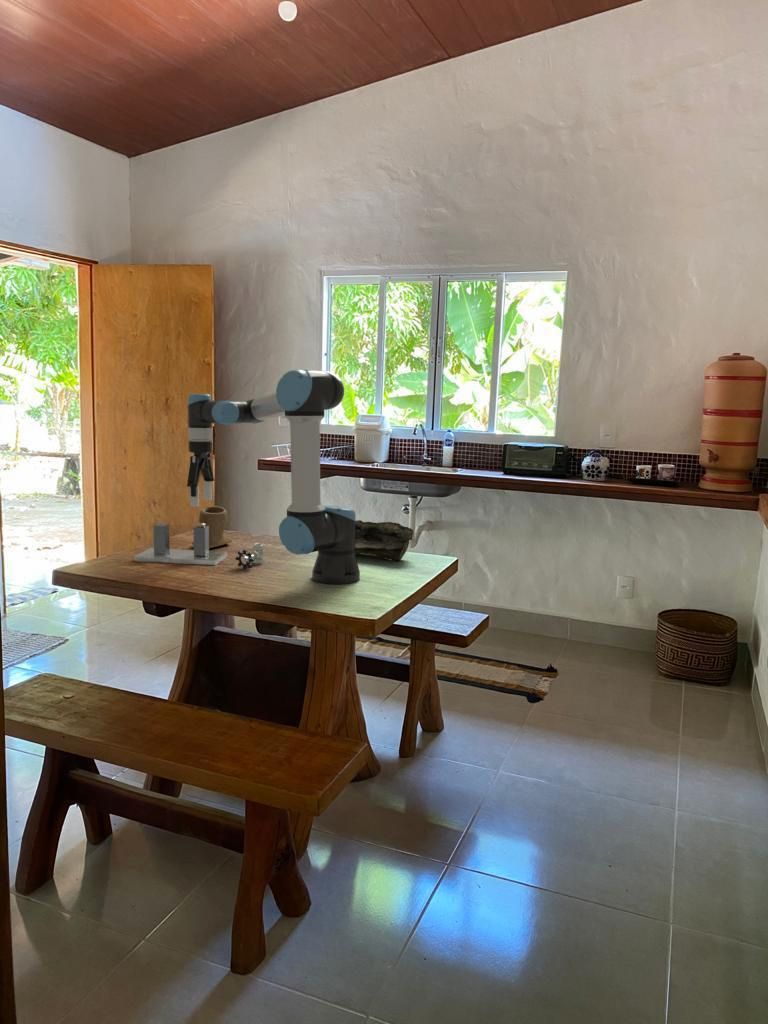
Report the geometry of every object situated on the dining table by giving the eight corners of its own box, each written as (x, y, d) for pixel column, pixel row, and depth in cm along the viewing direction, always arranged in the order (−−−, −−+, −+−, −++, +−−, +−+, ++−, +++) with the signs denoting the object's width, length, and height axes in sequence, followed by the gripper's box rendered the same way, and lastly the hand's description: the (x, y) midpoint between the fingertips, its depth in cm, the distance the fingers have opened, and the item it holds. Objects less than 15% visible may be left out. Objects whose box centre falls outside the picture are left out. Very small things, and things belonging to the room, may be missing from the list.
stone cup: (210, 552, 271) (210, 511, 269) (187, 547, 278) (187, 507, 275) (240, 545, 284) (240, 506, 281) (218, 541, 290) (217, 502, 288)
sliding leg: (205, 555, 258) (205, 525, 256) (193, 555, 258) (193, 524, 256) (208, 553, 262) (208, 522, 260) (197, 552, 262) (197, 522, 260)
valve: (253, 560, 261) (235, 568, 250) (253, 542, 260) (235, 548, 249) (270, 562, 259) (253, 570, 248) (270, 543, 258) (253, 550, 247)
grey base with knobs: (215, 565, 253) (215, 531, 251) (134, 561, 255) (133, 527, 253) (227, 555, 266) (227, 523, 265) (150, 552, 269) (149, 520, 267)
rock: (412, 576, 265) (427, 541, 272) (401, 556, 256) (417, 520, 263) (344, 562, 279) (360, 529, 285) (331, 543, 269) (348, 509, 276)
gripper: (201, 437, 266) (202, 497, 269) (176, 442, 241) (177, 508, 245) (222, 438, 265) (222, 498, 269) (199, 443, 241) (200, 509, 244)
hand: (201, 503), depth 257 cm, fingers open, 13 cm apart
